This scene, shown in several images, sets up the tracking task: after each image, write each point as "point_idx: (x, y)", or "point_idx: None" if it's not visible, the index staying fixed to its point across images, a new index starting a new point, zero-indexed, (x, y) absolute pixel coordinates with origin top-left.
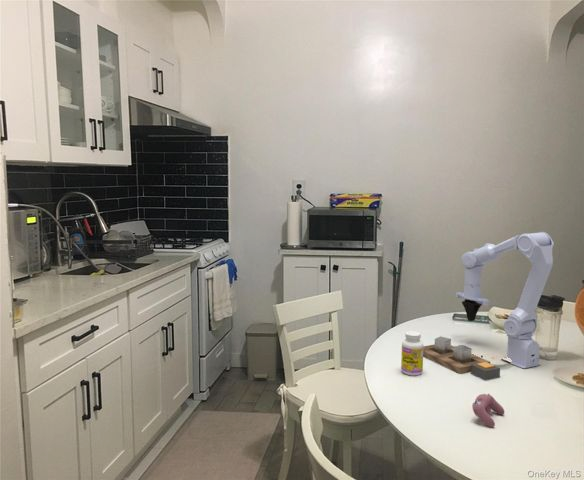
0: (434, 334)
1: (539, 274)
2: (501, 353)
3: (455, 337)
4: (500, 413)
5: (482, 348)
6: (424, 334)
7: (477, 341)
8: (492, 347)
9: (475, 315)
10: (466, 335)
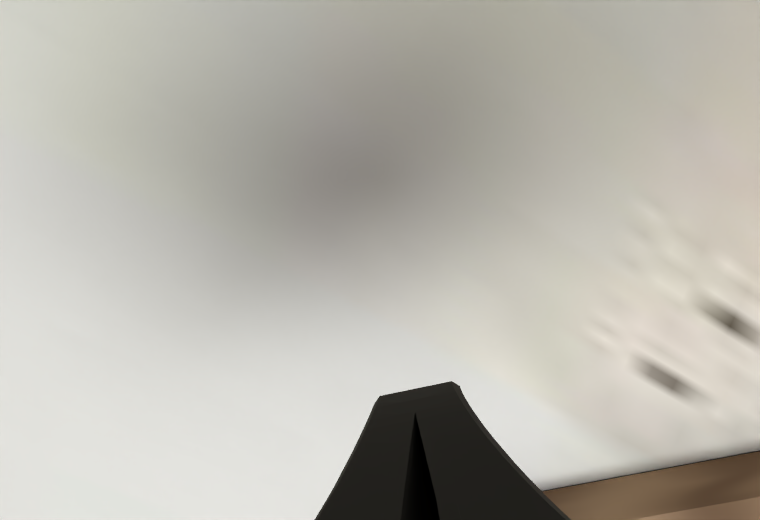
0: (6, 426)
1: None
2: (754, 66)
3: (118, 274)
4: None
5: (534, 185)
6: (7, 507)
7: (291, 101)
8: (539, 45)
9: (492, 453)
10: (44, 106)
